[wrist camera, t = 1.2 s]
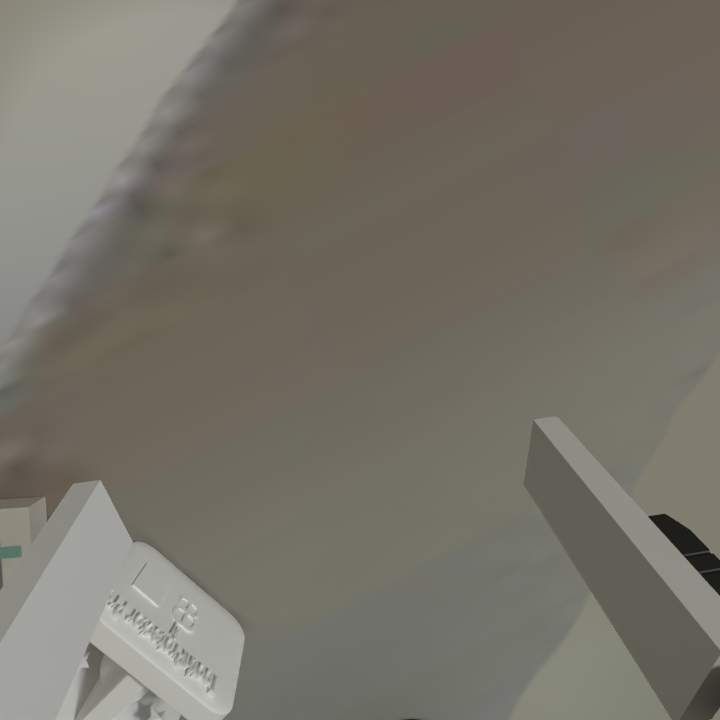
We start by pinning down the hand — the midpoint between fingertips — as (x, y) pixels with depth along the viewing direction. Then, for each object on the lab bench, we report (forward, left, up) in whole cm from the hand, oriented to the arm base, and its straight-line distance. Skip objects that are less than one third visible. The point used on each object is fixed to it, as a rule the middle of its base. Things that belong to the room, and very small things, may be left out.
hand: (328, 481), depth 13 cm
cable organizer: (-23, +15, -31) cm, 41 cm away
